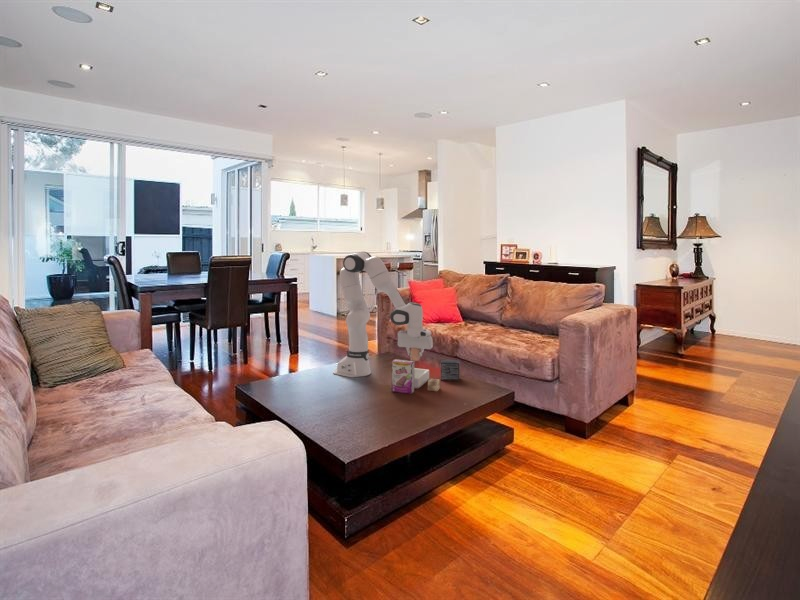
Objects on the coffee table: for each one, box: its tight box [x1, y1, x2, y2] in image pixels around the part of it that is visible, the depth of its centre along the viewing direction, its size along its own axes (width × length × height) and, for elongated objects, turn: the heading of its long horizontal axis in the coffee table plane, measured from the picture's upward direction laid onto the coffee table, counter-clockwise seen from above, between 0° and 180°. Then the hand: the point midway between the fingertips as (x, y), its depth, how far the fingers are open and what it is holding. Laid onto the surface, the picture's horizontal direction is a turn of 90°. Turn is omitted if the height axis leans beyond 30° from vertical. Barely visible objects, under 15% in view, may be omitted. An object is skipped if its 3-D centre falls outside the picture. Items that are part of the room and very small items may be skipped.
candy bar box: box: [391, 359, 416, 395], centre depth 234 cm, size 11×5×16 cm, turn 71°
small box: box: [440, 359, 460, 382], centre depth 257 cm, size 11×6×10 cm, turn 84°
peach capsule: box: [410, 348, 420, 362], centre depth 254 cm, size 5×5×7 cm
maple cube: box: [427, 378, 441, 392], centre depth 239 cm, size 5×5×5 cm
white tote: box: [414, 367, 430, 389], centre depth 251 cm, size 14×18×6 cm
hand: (415, 355), depth 254 cm, fingers closed on peach capsule, 5 cm apart
